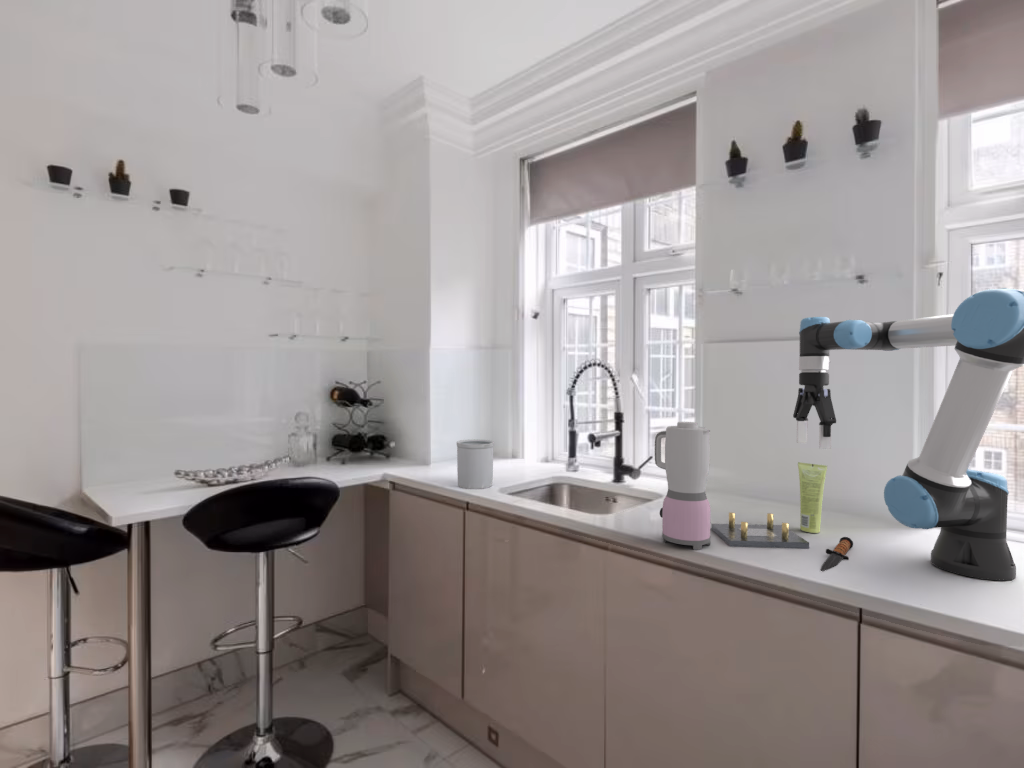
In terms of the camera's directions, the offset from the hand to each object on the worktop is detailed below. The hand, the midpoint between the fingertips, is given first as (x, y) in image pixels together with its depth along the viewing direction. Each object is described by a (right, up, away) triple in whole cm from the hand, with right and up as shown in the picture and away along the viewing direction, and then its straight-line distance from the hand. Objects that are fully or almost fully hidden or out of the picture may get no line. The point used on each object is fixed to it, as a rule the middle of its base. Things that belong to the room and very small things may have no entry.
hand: (812, 445), depth 155 cm
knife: (-8, -26, -24) cm, 36 cm away
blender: (-41, -25, -10) cm, 49 cm away
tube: (-1, -25, 0) cm, 25 cm away
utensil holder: (-101, -23, +59) cm, 119 cm away
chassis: (-19, -25, -7) cm, 32 cm away
